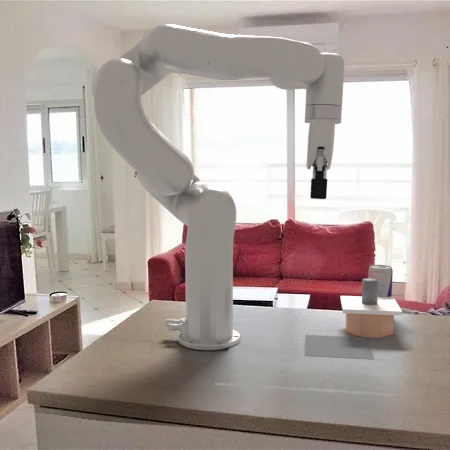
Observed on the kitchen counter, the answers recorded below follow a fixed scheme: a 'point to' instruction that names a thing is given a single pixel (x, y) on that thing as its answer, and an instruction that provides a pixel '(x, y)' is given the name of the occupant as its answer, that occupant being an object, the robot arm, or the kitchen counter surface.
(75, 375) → the kitchen counter surface
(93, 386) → the kitchen counter surface
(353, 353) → the mat
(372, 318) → the bowl
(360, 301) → the lid
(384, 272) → the energy drink
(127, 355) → the kitchen counter surface
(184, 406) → the kitchen counter surface
